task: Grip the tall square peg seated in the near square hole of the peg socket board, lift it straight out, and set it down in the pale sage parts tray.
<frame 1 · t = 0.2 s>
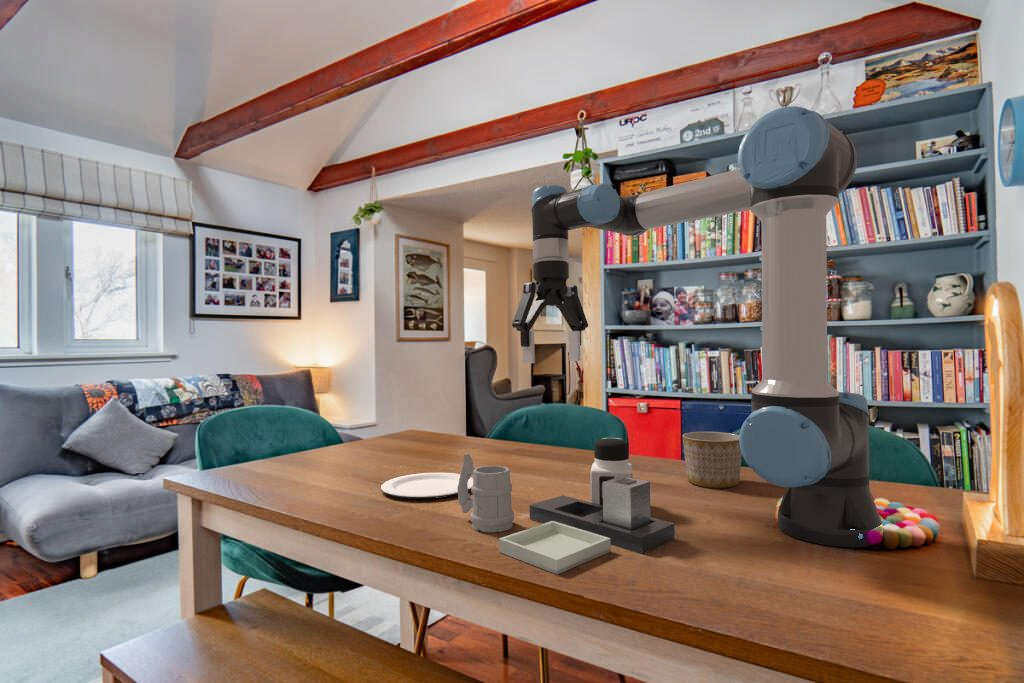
hand: (552, 362, 119), 28 cm above the table, fingers open, 13 cm apart
tall square peg: (627, 537, 92), resting in peg socket board
container: (612, 507, 109), on the table
planter: (712, 483, 125), on the table
tray: (554, 551, 86), on the table
mug: (483, 524, 100), on the table
peg socket board: (597, 528, 96), on the table
plate: (429, 491, 124), on the table
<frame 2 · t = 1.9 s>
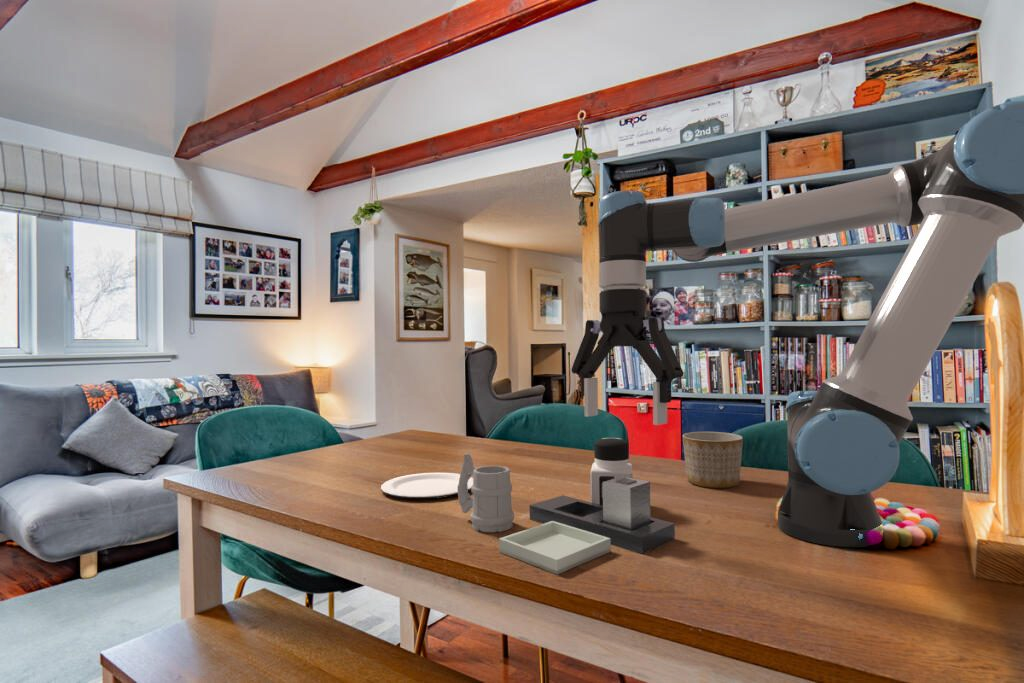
hand: (623, 419, 92), 19 cm above the table, fingers open, 13 cm apart
nothing on the table moved.
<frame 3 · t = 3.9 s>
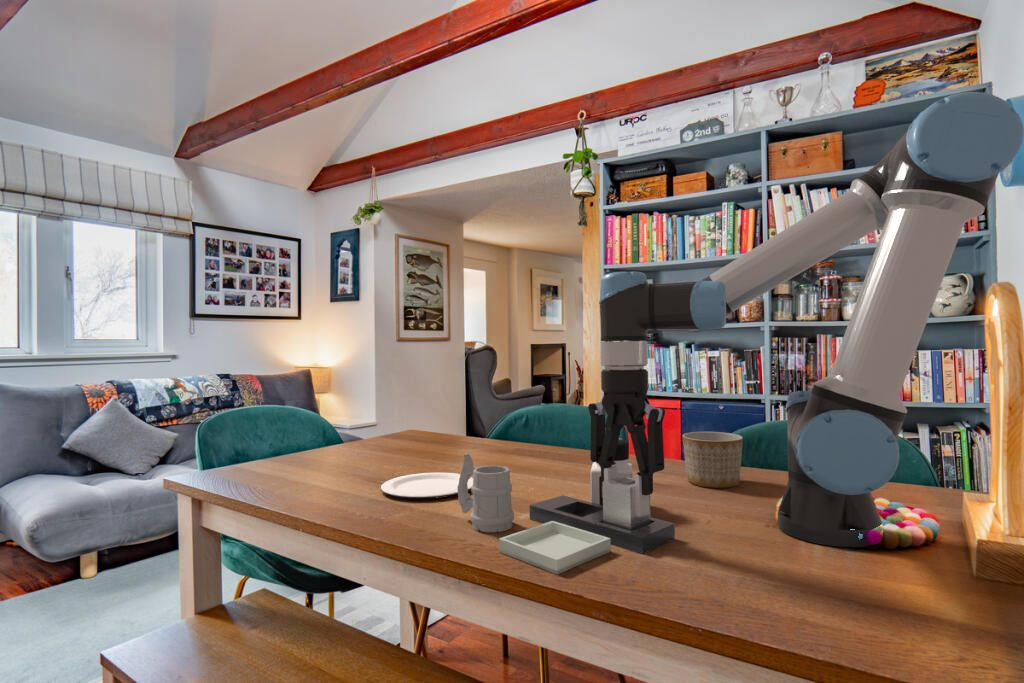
hand: (626, 510, 92), 4 cm above the table, fingers closed on tall square peg, 5 cm apart
tall square peg: (627, 537, 92), resting in peg socket board, touching gripper
everything else where it was.
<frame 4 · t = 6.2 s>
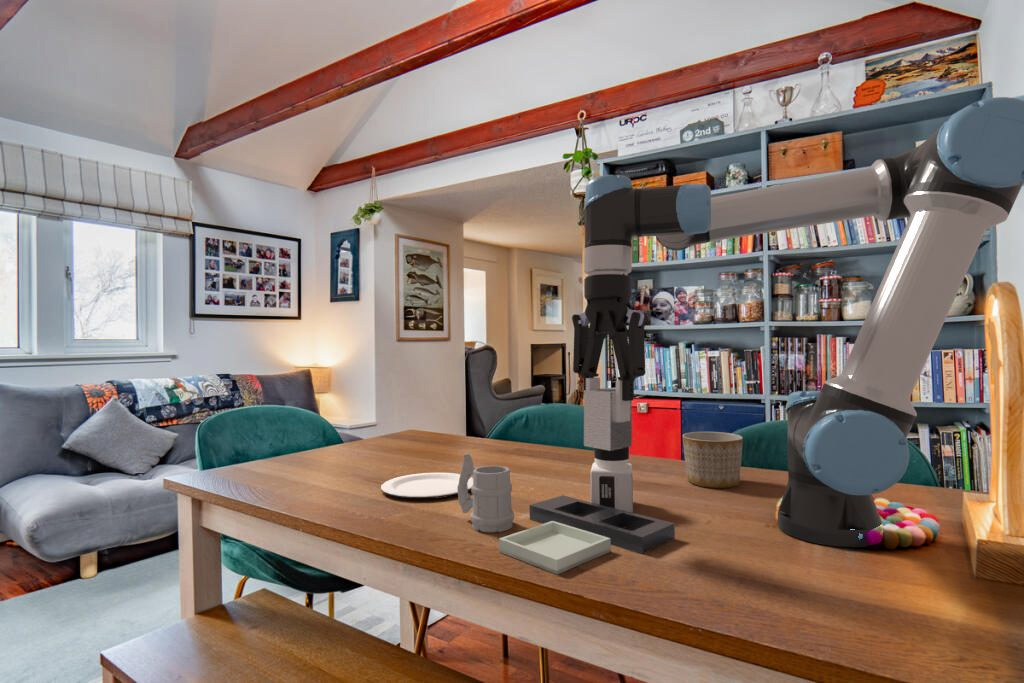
hand: (607, 419, 91), 19 cm above the table, fingers closed on tall square peg, 5 cm apart
tall square peg: (607, 446, 91), point 15 cm above the table, touching gripper
everything else where it was.
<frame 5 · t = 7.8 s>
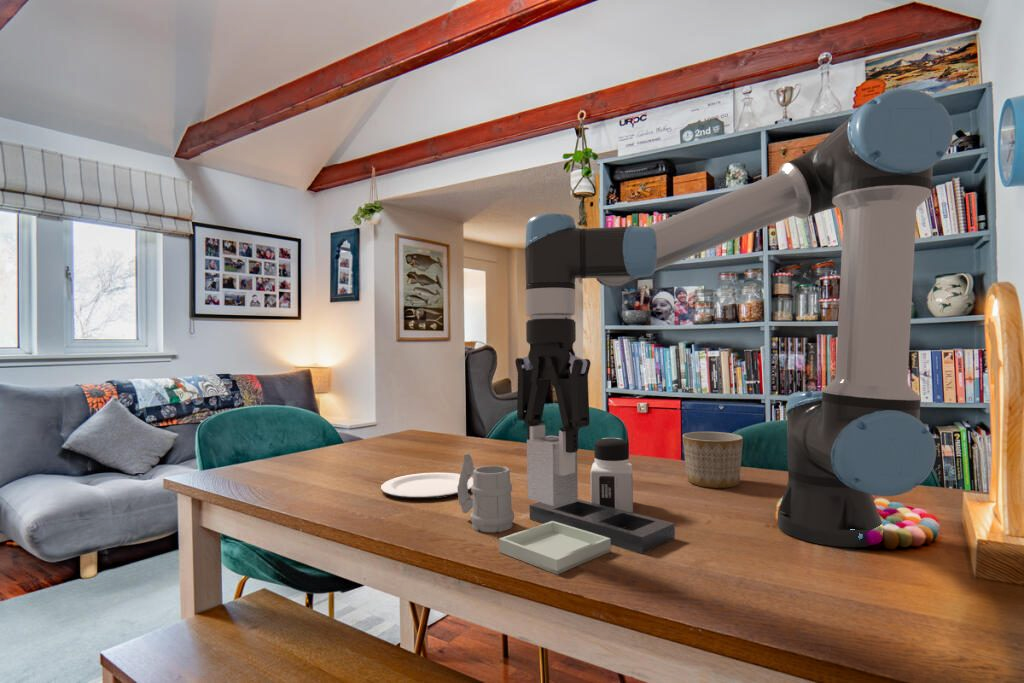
hand: (552, 470, 86), 12 cm above the table, fingers closed on tall square peg, 5 cm apart
tall square peg: (552, 498, 86), point 8 cm above the table, touching gripper
everything else where it was.
when the fingers open (6 cm above the table, at t = 9.0 s): tall square peg drops 1 cm, resting on tray.
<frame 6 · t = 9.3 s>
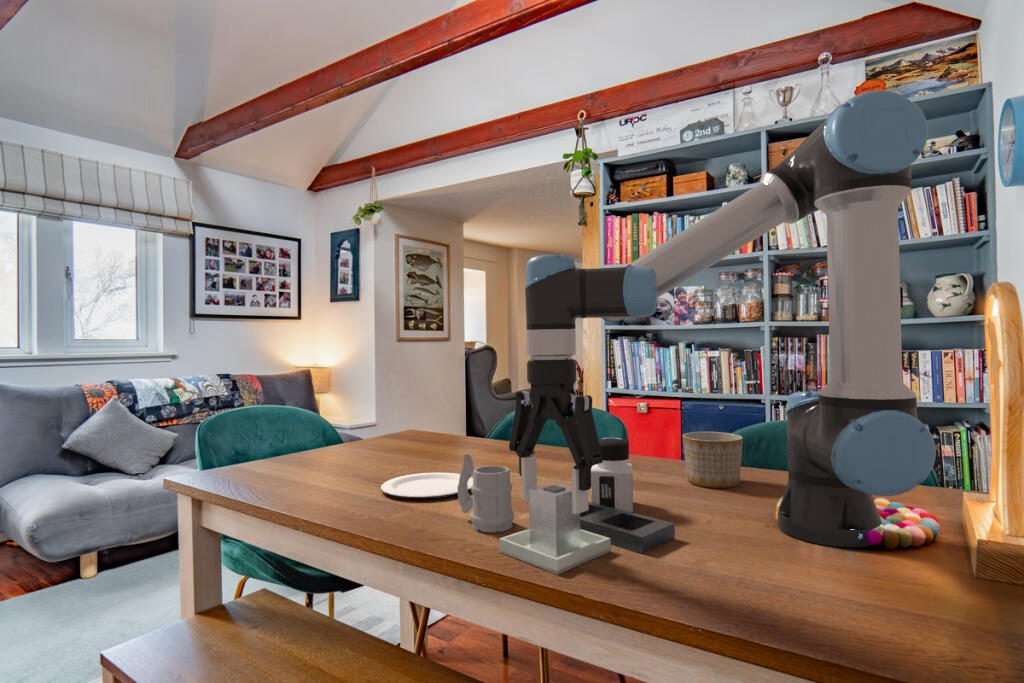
hand: (553, 504, 86), 7 cm above the table, fingers open, 10 cm apart
tall square peg: (555, 548, 86), resting on tray
everything else where it was.
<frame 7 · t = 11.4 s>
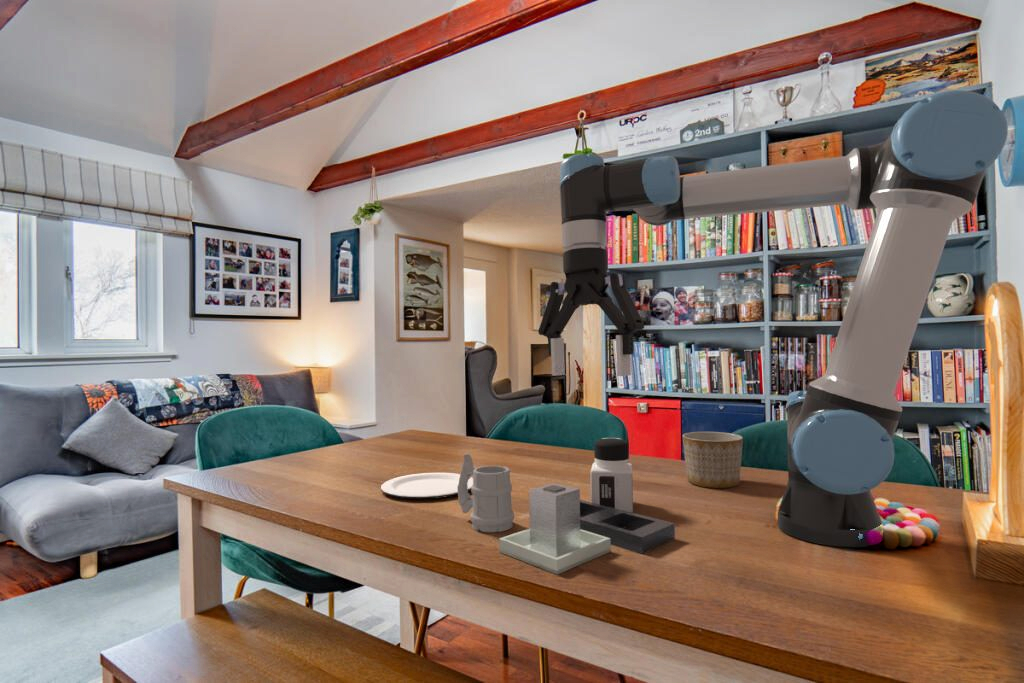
hand: (589, 375, 95), 26 cm above the table, fingers open, 13 cm apart
nothing on the table moved.
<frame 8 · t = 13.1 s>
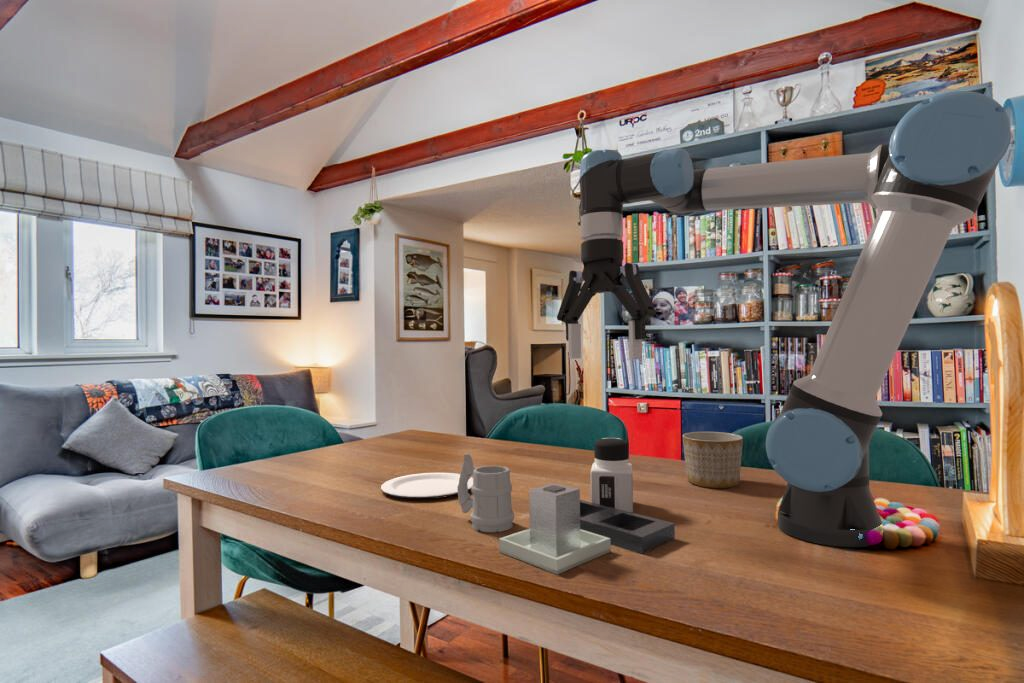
hand: (603, 359, 101), 29 cm above the table, fingers open, 13 cm apart
nothing on the table moved.
at the end: tall square peg inside the target area on the tray (0.1 cm from its centre), point 0.5 cm above the tray's base; tall square peg tilted 0°; the gripper is holding nothing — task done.
